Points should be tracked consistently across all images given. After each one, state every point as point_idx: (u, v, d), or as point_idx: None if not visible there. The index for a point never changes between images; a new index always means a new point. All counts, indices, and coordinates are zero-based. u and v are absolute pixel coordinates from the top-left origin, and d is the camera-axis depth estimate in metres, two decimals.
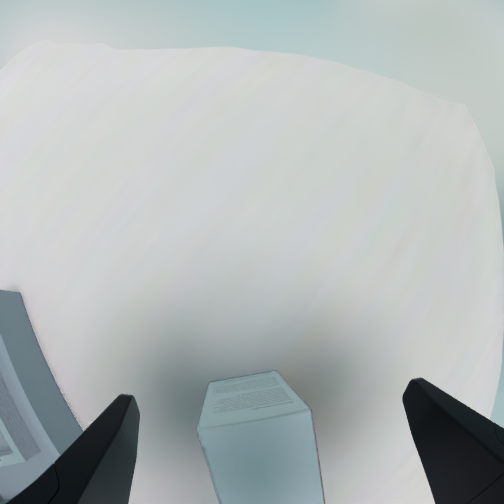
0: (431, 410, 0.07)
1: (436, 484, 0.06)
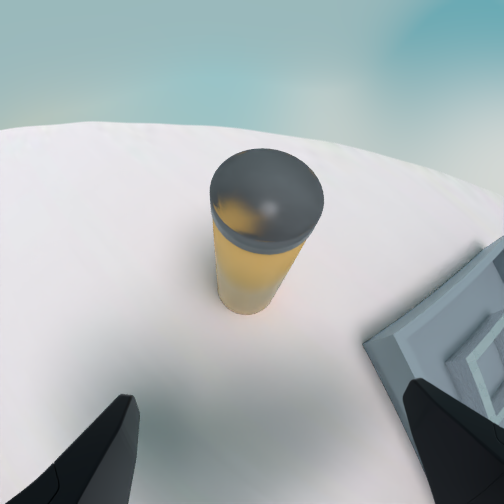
0: (431, 410, 0.07)
1: (436, 484, 0.06)
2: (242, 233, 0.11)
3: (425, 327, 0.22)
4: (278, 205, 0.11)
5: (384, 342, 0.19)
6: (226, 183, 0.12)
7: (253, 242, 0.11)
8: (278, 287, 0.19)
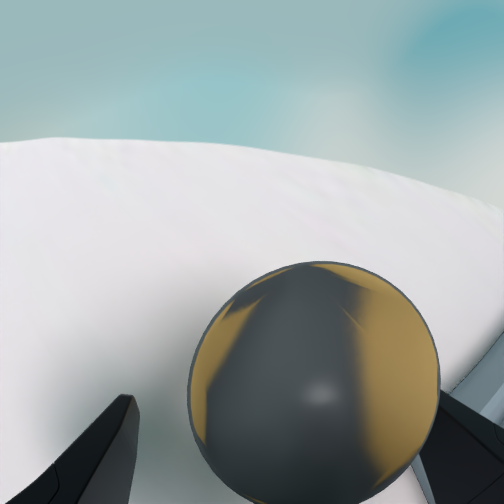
0: None
1: (436, 484, 0.06)
2: (271, 503, 0.03)
3: None
4: (355, 428, 0.04)
5: None
6: (229, 379, 0.04)
7: None
8: None
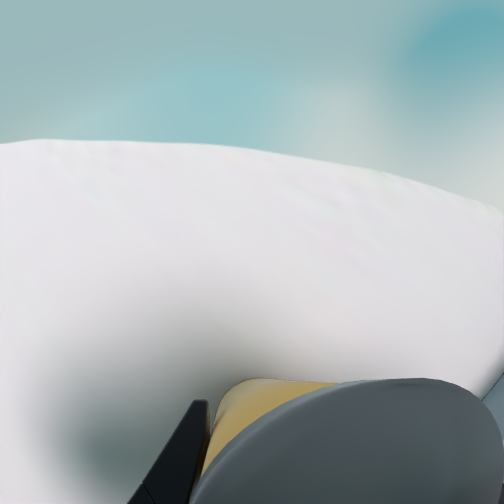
0: None
1: None
2: None
3: None
4: None
5: None
6: None
7: None
8: None
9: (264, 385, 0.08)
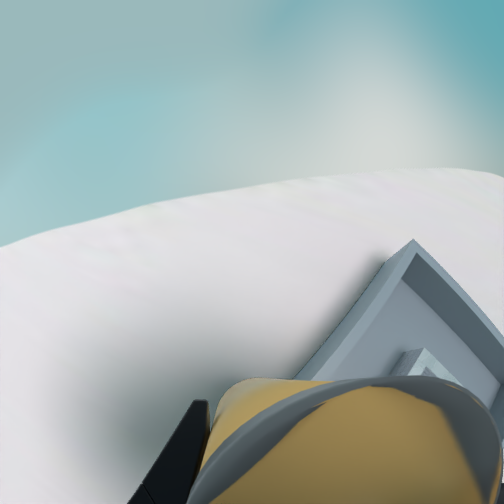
0: None
1: None
2: None
3: None
4: None
5: None
6: None
7: None
8: None
9: (262, 384, 0.08)
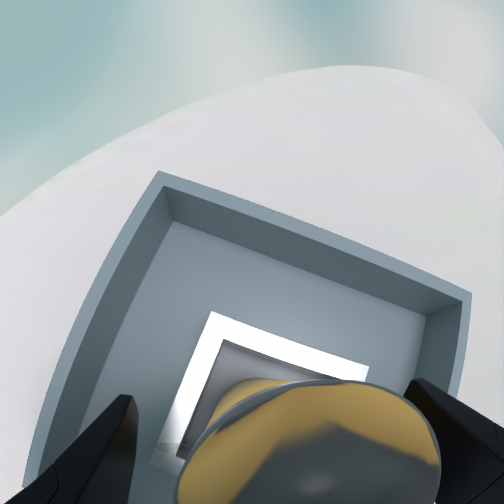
0: (431, 410, 0.07)
1: None
2: None
3: None
4: None
5: None
6: None
7: None
8: None
9: (253, 383, 0.09)
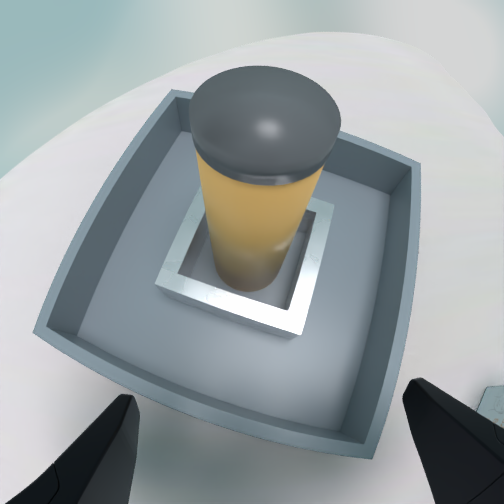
0: (431, 410, 0.07)
1: (436, 484, 0.06)
2: (232, 152, 0.07)
3: (117, 278, 0.19)
4: (281, 120, 0.08)
5: None
6: (211, 99, 0.08)
7: (248, 163, 0.08)
8: (286, 252, 0.16)
9: None
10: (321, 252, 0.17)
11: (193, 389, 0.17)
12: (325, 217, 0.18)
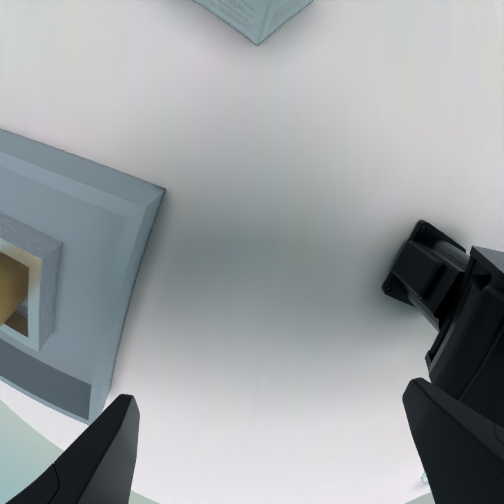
0: (431, 410, 0.07)
1: (436, 484, 0.06)
2: None
3: (54, 360, 0.22)
4: None
5: None
6: None
7: None
8: None
9: None
10: None
11: None
12: None
